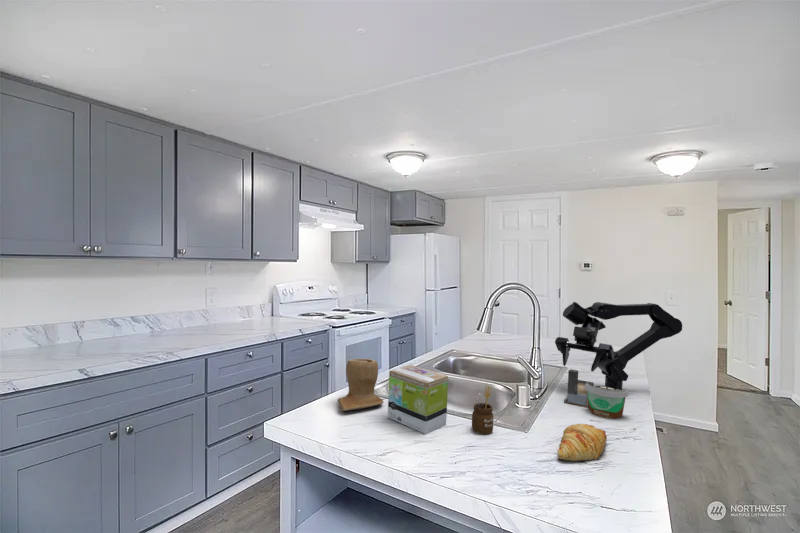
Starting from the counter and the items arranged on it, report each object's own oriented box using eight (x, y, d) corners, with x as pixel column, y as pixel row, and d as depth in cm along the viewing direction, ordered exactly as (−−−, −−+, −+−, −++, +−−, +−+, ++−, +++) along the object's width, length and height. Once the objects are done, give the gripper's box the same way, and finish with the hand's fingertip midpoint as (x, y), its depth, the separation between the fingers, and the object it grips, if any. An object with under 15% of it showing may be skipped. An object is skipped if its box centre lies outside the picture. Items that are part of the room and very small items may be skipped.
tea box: (386, 418, 121) (387, 369, 120) (408, 410, 128) (410, 363, 128) (425, 435, 110) (427, 381, 110) (447, 424, 118) (449, 374, 117)
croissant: (569, 482, 96) (586, 459, 92) (537, 447, 102) (551, 425, 99) (611, 455, 109) (627, 434, 106) (579, 426, 116) (593, 405, 112)
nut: (576, 393, 145) (576, 382, 145) (588, 395, 143) (589, 384, 143) (574, 396, 142) (574, 385, 142) (586, 399, 140) (587, 387, 140)
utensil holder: (467, 431, 114) (469, 388, 114) (478, 423, 119) (479, 383, 119) (487, 437, 110) (488, 393, 110) (496, 429, 115) (498, 387, 115)
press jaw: (568, 399, 137) (569, 369, 137) (587, 403, 134) (588, 372, 134) (567, 402, 135) (568, 370, 135) (585, 406, 132) (587, 374, 132)
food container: (582, 418, 125) (583, 386, 125) (583, 411, 131) (584, 381, 131) (627, 427, 120) (629, 393, 119) (627, 420, 125) (628, 388, 125)
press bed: (571, 393, 149) (572, 378, 148) (595, 398, 144) (596, 382, 144) (563, 406, 135) (564, 389, 135) (589, 412, 131) (589, 394, 131)
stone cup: (371, 396, 139) (372, 352, 139) (387, 408, 129) (389, 361, 129) (329, 403, 132) (330, 357, 131) (343, 416, 121) (344, 366, 121)
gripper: (557, 314, 149) (544, 349, 141) (613, 321, 137) (602, 359, 129) (564, 333, 155) (552, 367, 147) (618, 341, 143) (608, 379, 135)
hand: (577, 368), depth 139 cm, fingers open, 9 cm apart
